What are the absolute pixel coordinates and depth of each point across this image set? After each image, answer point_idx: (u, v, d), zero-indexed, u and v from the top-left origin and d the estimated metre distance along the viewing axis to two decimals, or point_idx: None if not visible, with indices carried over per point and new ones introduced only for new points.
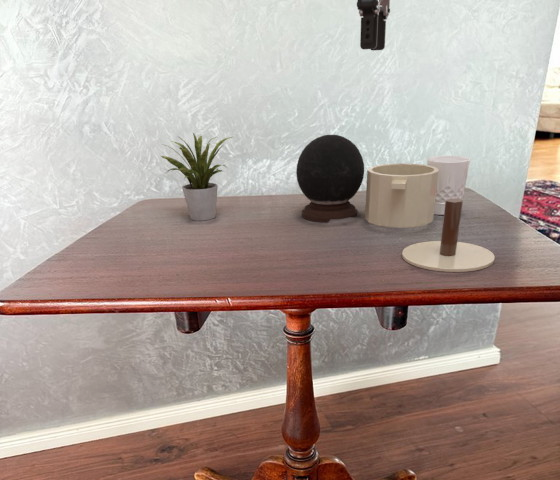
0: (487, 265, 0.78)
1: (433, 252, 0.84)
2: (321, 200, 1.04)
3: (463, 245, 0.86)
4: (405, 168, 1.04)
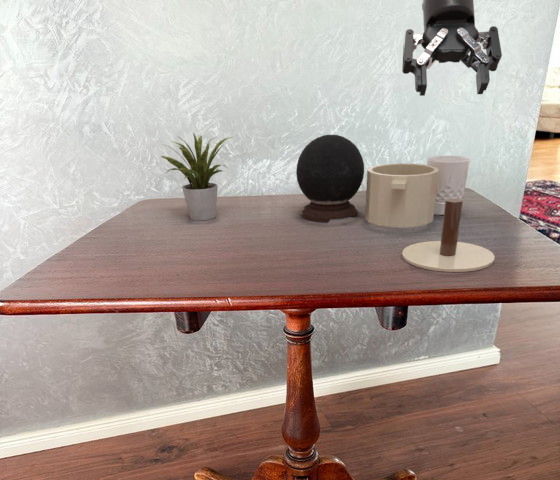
0: (487, 265, 0.78)
1: (433, 252, 0.84)
2: (321, 200, 1.04)
3: (463, 245, 0.86)
4: (405, 168, 1.04)
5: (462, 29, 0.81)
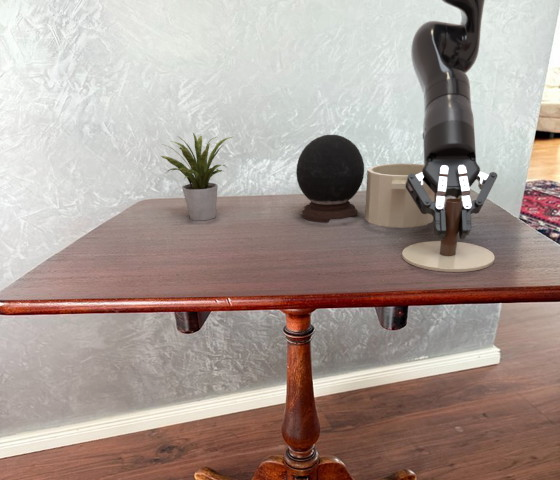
0: (487, 265, 0.78)
1: (433, 252, 0.84)
2: (321, 200, 1.04)
3: (463, 245, 0.86)
4: (405, 168, 1.04)
5: (463, 167, 0.80)
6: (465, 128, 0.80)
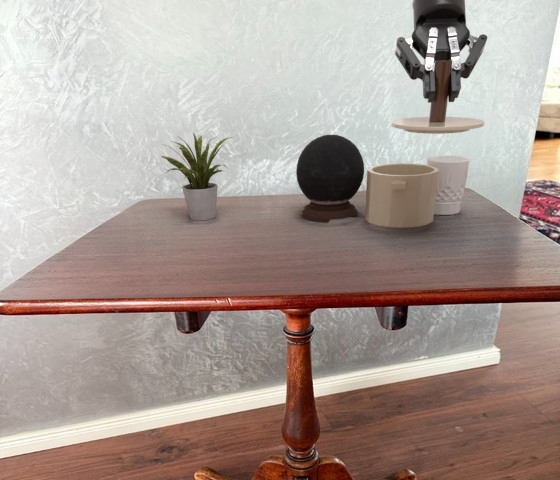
0: (476, 126, 0.77)
1: (422, 121, 0.83)
2: (321, 200, 1.04)
3: (453, 118, 0.85)
4: (405, 168, 1.04)
5: (453, 29, 0.79)
6: None
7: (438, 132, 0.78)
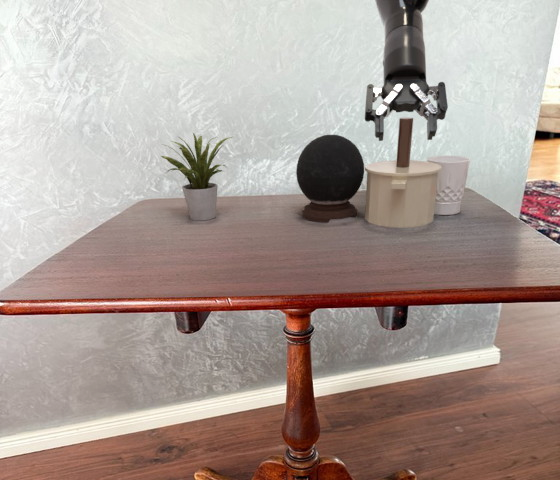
0: (433, 171, 0.94)
1: (391, 165, 1.00)
2: (321, 200, 1.04)
3: (417, 162, 1.02)
4: None
5: (414, 85, 0.95)
6: (416, 53, 0.96)
7: None
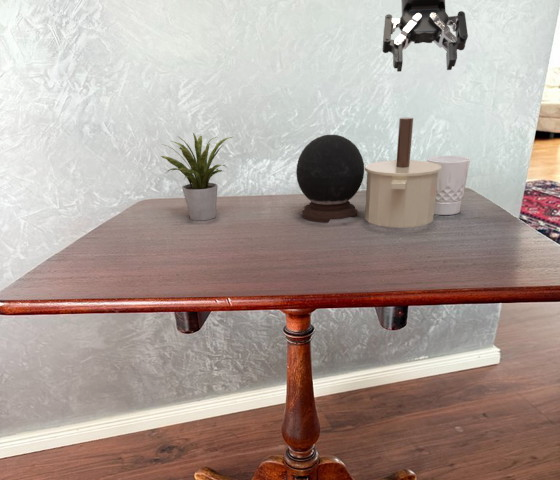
0: (433, 171, 0.94)
1: (391, 165, 1.00)
2: (321, 200, 1.04)
3: (417, 162, 1.02)
4: None
5: (434, 14, 0.94)
6: None
7: None
